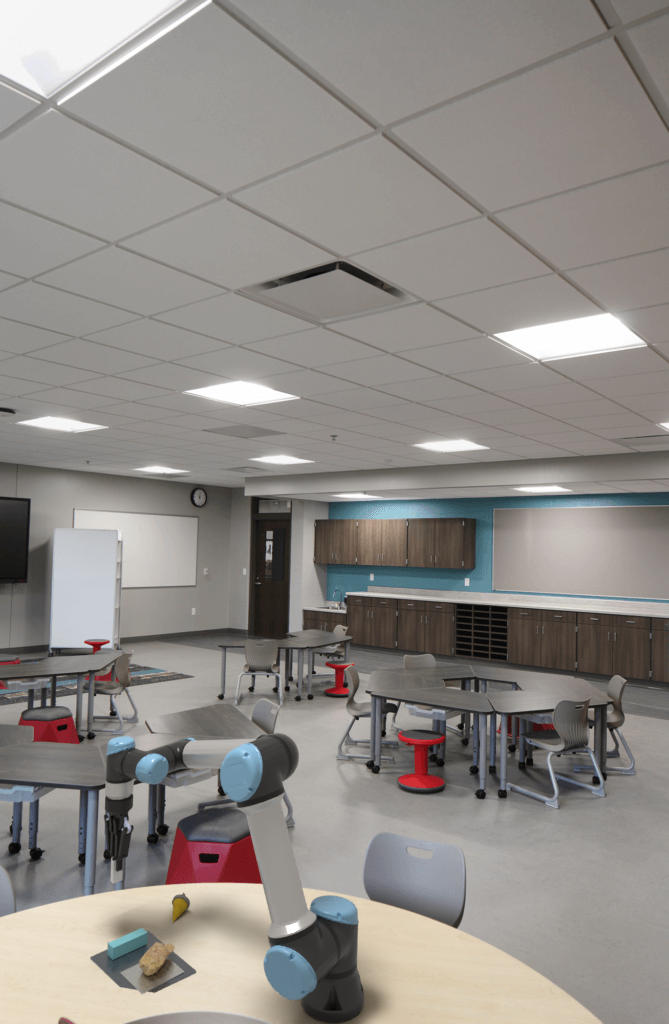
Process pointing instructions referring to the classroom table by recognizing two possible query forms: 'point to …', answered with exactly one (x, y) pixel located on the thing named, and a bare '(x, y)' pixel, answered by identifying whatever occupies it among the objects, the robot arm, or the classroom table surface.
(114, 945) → the bar
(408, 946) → the classroom table surface
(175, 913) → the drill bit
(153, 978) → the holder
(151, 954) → the stone tool
